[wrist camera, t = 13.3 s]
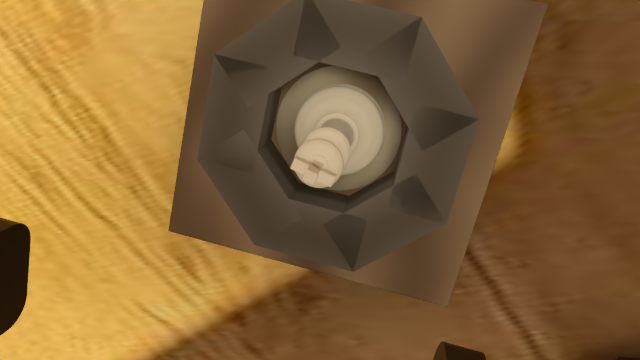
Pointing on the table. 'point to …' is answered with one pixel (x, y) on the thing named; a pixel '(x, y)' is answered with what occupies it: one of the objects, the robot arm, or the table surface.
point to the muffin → (628, 358)
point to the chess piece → (336, 134)
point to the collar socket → (400, 141)
